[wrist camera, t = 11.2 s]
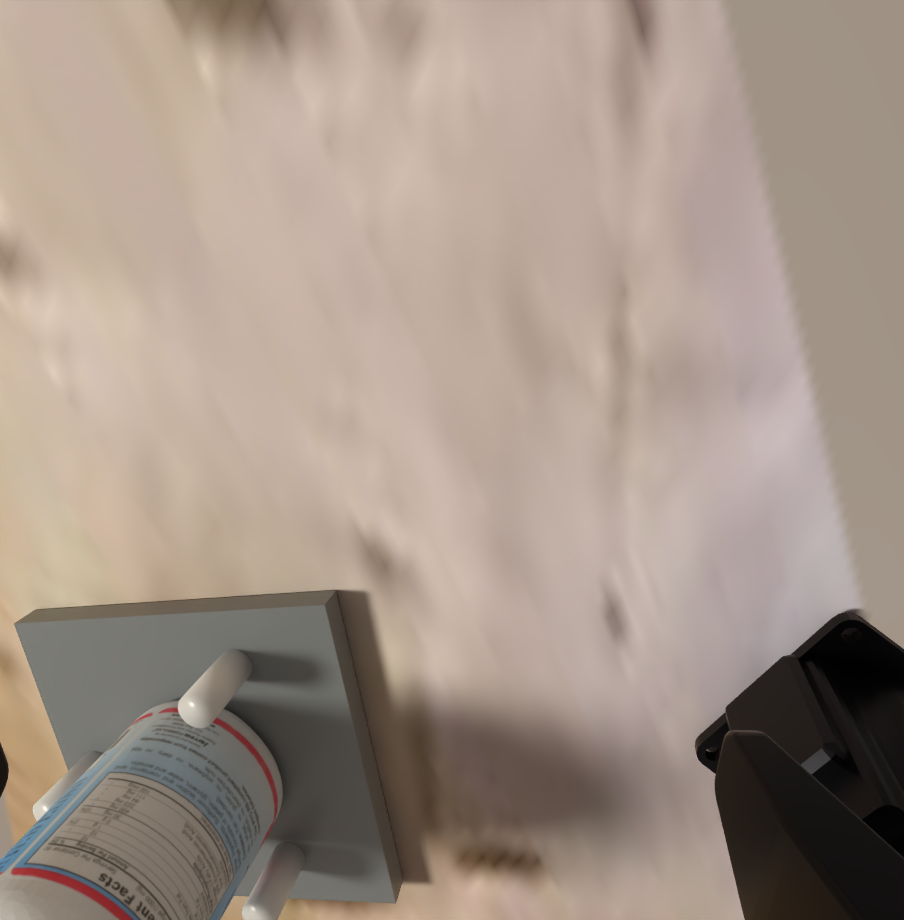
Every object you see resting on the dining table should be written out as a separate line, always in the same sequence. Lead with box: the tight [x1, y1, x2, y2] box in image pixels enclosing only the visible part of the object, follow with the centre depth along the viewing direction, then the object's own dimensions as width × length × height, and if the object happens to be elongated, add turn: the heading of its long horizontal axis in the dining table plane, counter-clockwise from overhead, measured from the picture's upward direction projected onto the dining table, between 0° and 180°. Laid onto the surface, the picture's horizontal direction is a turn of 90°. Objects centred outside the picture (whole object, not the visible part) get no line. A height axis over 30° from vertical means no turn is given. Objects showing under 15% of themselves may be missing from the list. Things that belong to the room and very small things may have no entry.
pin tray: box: [14, 590, 403, 920], centre depth 25 cm, size 12×12×4 cm
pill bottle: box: [0, 701, 283, 920], centre depth 20 cm, size 6×6×11 cm
